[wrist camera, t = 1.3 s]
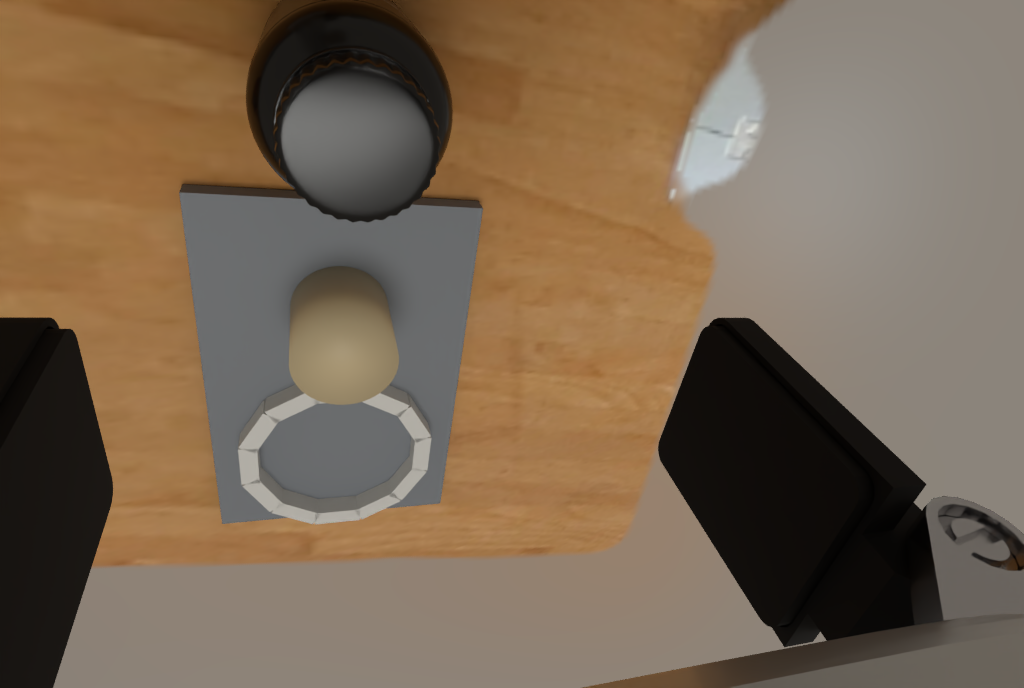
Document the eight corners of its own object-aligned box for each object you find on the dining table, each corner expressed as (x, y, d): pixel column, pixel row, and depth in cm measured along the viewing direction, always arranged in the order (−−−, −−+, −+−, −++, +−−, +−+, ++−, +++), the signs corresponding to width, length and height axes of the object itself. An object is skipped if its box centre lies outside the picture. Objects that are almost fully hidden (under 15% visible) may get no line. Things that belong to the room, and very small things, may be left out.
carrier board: (182, 184, 29) (159, 241, 24) (478, 201, 33) (508, 252, 28) (223, 511, 41) (213, 592, 36) (437, 492, 45) (453, 562, 40)
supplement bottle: (434, -1, 27) (504, 57, 18) (405, 153, 31) (451, 269, 21) (265, -50, 25) (243, -13, 15) (253, 123, 28) (230, 240, 19)
